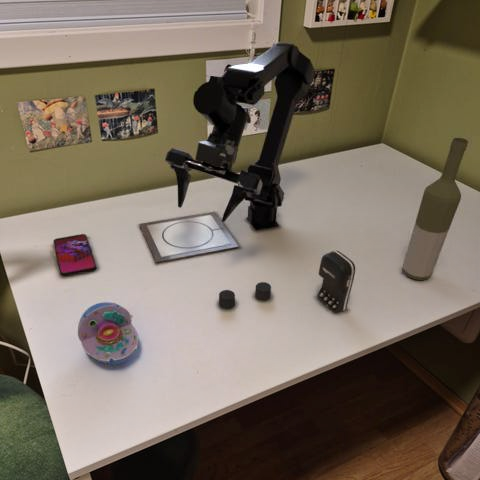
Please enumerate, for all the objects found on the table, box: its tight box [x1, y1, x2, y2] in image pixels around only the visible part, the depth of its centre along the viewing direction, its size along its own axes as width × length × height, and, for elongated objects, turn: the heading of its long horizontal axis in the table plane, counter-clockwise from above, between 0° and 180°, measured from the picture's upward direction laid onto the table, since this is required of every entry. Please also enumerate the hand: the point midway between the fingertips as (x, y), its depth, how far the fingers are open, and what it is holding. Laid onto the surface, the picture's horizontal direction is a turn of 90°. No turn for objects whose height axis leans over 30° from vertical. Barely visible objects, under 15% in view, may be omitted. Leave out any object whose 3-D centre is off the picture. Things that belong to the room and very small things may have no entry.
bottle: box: [402, 137, 469, 281], centre depth 96 cm, size 7×7×30 cm
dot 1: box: [218, 289, 236, 310], centre depth 95 cm, size 3×3×2 cm
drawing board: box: [139, 211, 240, 264], centre depth 115 cm, size 20×18×1 cm
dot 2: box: [254, 281, 272, 302], centre depth 97 cm, size 3×3×2 cm
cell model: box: [77, 301, 139, 364], centre depth 81 cm, size 10×12×10 cm
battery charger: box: [317, 250, 356, 313], centre depth 93 cm, size 7×4×11 cm, turn 31°
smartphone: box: [53, 233, 97, 277], centre depth 107 cm, size 8×1×15 cm
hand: (201, 214), depth 92 cm, fingers open, 9 cm apart
